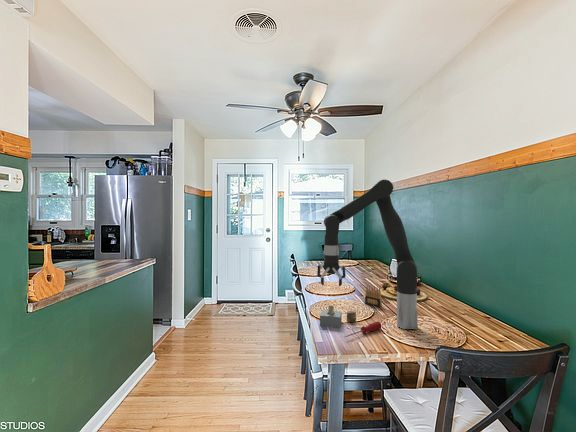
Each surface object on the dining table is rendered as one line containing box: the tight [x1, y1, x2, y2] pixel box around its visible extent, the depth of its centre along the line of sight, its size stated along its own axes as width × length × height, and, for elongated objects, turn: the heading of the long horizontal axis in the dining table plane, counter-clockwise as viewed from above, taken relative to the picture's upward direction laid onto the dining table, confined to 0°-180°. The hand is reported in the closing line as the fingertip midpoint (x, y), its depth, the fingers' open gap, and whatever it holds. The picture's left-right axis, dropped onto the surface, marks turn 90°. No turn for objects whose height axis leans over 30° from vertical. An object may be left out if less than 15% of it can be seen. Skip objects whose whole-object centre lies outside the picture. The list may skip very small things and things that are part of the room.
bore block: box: [319, 309, 343, 329], centre depth 153 cm, size 10×10×5 cm
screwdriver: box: [343, 321, 382, 338], centre depth 138 cm, size 4×25×4 cm, turn 127°
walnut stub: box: [346, 310, 357, 323], centre depth 156 cm, size 5×5×4 cm
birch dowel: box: [327, 304, 335, 315], centre depth 153 cm, size 3×3×9 cm
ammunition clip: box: [364, 285, 382, 308], centre depth 185 cm, size 11×2×12 cm, turn 43°
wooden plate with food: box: [378, 281, 428, 303], centre depth 209 cm, size 32×32×8 cm
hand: (331, 285), depth 153 cm, fingers open, 8 cm apart
